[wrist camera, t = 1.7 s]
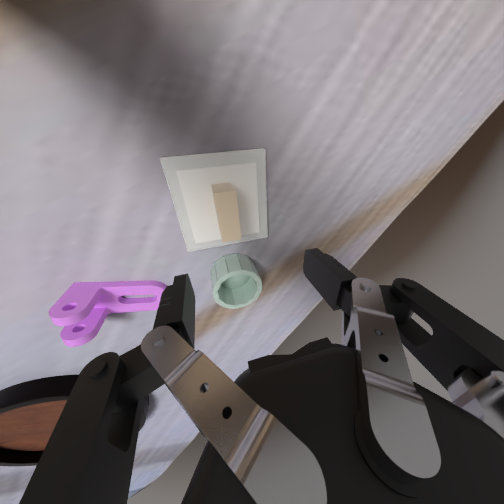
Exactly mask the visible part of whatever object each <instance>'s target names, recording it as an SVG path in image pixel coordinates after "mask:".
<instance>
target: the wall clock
mask: <svg viewBox="0 0 504 504" xmlns="http://www.w3.org/2000/svg"><path fill="white" fill-rule="evenodd" d="M78 376H79V375H64V376H54V377H47V378H41V379H36V380H32V381H27V382H24V383H20V384H17V385H14V386H11V387H8V388H5V389H3V390H1V391H0V466H33V465H37V464H38V462H39V460H40V458H41V456H42V454H43V451H44V449H45V447H46V445H47V443H48V441H49V439H50V436H51V434H52V432H53V430H54V428H55V426H56V423H57V421H58V419H59V417H60V415H61V413H62V411H63V408H64V406H65V404H66V402H67V400H68V398H69V395H70V393H71V391H72V389H73V387H74V385H75V383H76V380H77V378H78ZM148 405H149V397H148V395H146V396H145V397H144V401H143V407H142V414H141V420H140V426H139V431H140V429H141V428H142V427H143V425H144V423H145V420H146V416H147V410H148Z"/></svg>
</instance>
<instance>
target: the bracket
mask: <svg viewBox="0 0 504 504" xmlns="http://www.w3.org/2000/svg"><path fill="white" fill-rule="evenodd" d="M166 287H167V286H166V285H165V284H163V283H161V282H158V281H117V282H80V283H73V284H72V285H71V287H70V288H69V289H68V290H67V291H66V292H65V293H64V294H63V295H62V296H61V298H60V299H59V300H58V301H57V302H56V303H55V304H54V305H53V306H52V308H51V309H50V310H49V315H50V317H51V319H52V321H53V323H54V324H55V325H58V326H65V327H64V328H63V330H62V331H61V334H60V336H61V338H62V340H63V342H64V344H65V345H66V346H69V347H76V346H80V345H83V344H85V343H87V342H89V341H90V340H92V339H93V338H94V337H95V336H96V335H97V333H98V331H99V330H100V328H101V326H102V324H103V322H104V320H105V318H106V317H107V315H108V314H110V313H120V312H135V311H149V310H157V309H158V307H159V303H160V299H161V295H162V292H163V291H164V290H165V288H166ZM145 294H153V295H155V296H156V297H148V298H129V299H127V298H124V297H122V296H123V295H145Z"/></svg>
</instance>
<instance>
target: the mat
mask: <svg viewBox="0 0 504 504" xmlns="http://www.w3.org/2000/svg"><path fill="white" fill-rule="evenodd" d="M160 161H161V164H162V168H163V171H164V174H165V178H166V181H167V184H168V188H169V191H170V194H171V197H172V201H173V204H174V207H175V211H176V214H177V217H178V221H179V224H180V227H181V231H182V234H183V237H184V240H185V244H186V247H187V250H188V252H191V251H196V250H202V249H207V248H213V247H218V246H224V245H229V244H235V243H240V242H245V241H251V240H256V239H262V238H267V237H268V233H267V191H266V149H265V148H260V149H249V150H237V151H226V152H215V153H203V154H192V155H181V156H169V157H160ZM253 162H256V168H257V188H258V208H259V229H260V232H259V233H253V234H247V235H242V236H241V239H240V240H234V241H229V242H222V239H219V240H213V241H208V242H202V243H195V240H194V236H193V232H192V228H191V225H190V221H189V217H188V214H187V210H186V206H185V202H184V199H183V195H182V191H181V187H180V184H179V180H178V176H177V173H176V170H185V169H195V168H204V167H214V166H224V165H234V164H244V163H253Z"/></svg>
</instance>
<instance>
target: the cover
mask: <svg viewBox="0 0 504 504" xmlns="http://www.w3.org/2000/svg"><path fill="white" fill-rule="evenodd" d="M176 173H177V176H178V180H179V184H180V187H181V191H182V195H183V199H184V202H185V206H186V210H187V214H188V217H189V221H190V225H191V228H192V232H193V236H194V240H195V243H202V242H208V241H213V240H219V239H222V242H229V241H234V240H240V239H241V236H242V235H247V234H253V233H259V232H260V229H259V208H258V188H257V168H256V162H253V163H244V164H234V165H224V166H214V167H204V168H195V169H185V170H176Z"/></svg>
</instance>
